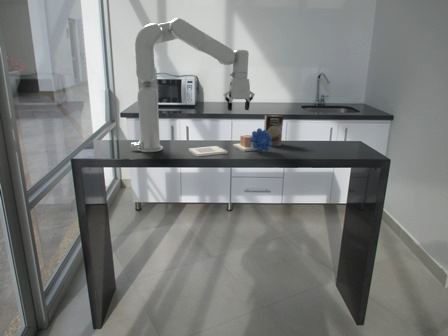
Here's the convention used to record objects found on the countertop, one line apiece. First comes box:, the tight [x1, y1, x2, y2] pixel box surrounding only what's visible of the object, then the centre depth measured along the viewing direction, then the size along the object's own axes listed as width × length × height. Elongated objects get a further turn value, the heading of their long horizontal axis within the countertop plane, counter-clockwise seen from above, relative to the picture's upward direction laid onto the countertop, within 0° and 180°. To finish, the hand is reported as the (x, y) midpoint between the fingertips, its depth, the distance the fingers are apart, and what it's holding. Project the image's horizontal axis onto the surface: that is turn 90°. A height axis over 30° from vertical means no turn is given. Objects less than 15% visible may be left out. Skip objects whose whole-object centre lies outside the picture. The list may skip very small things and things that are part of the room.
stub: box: [232, 135, 258, 153], centre depth 185 cm, size 8×12×6 cm, turn 25°
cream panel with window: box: [188, 145, 228, 157], centre depth 177 cm, size 16×12×1 cm
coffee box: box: [263, 114, 284, 147], centre depth 193 cm, size 9×6×16 cm
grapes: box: [250, 127, 273, 153], centre depth 177 cm, size 12×7×12 cm, turn 102°
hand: (238, 110), depth 182 cm, fingers open, 9 cm apart
